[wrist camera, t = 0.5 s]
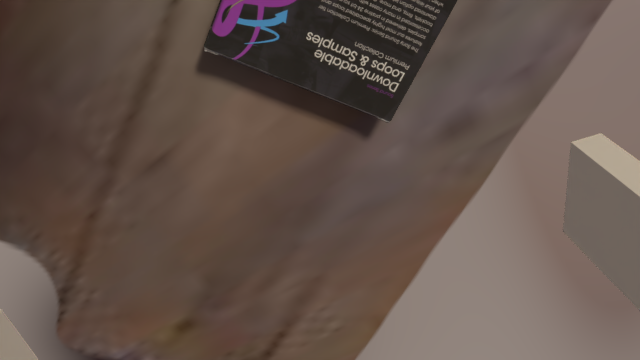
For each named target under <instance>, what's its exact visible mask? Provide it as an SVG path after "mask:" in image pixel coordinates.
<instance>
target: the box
mask: <svg viewBox="0 0 640 360" xmlns="http://www.w3.org/2000/svg"><path fill="white" fill-rule="evenodd" d="M456 2H457V0H220V3H219V6H218V9H217V11H216V14H215V17H214V20H213V22H212V25H211V28H210V30H209V33H208V36H207V39H206V42H205V44H204V49H205V52H210V53H212V54H214V55H220V56H223V57H225V58H227V59H230V60H233V61H235V62H237V63H240V64H242V65H245V66H248V67H250V68H253V69H255V70H258V71H260V72H262V73H265V74H267V75H270V76H273V77H275V78H278V79H280V80H283V81H285V82H288V83H291V84H293V85H296V86H298V87H301V88H303V89H306V90H308V91H311V92H313V93H316V94H319V95H321V96H324V97H326V98H329V99H331V100H334V101H337V102H339V103H342V104H344V105H347V106H349V107H352V108H354V109H357V110H359V111H362V112H364V113H367V114H369V115H372V116H374V117H376V118H378V119H380V120H382V121H385V122H388V123H390V121H391V120H392V118H393V116H394V114H395V112H396V110H397V108H398V107H399V105H400V103H401V101H402V100H403V98H404V96H405V94H406V92H407V91H408V89H409V87H410V85H411V83H412V82H413V80H414V78H415V76H416V74H417V72H418V71H419V69H420V67H421V65H422V63H423V62H424V60H425V58H426V56H427V54H428V53H429V51H430V49H431V47H432V45H433V43H434V42H435V40H436V38H437V36H438V35H439V33H440V31H441V29H442V27H443V26H444V24H445V22H446V20H447V18H448V17H449V15H450V13H451V11H452V9H453V7H454V6H455V4H456Z"/></svg>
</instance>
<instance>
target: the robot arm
mask: <svg viewBox="0 0 640 360" xmlns="http://www.w3.org/2000/svg"><path fill="white" fill-rule="evenodd" d="M564 214H565V215H564V224H563V232H564V233H565V234H566V235H567V236H568V237H569V238H570V239H571V240H572V241H573V242H574V243H575V244H576V245H577V247H579V249H580V250H581V251H582V252H583V253H584V254H585V255H586V256H587V257H588V258H589V259H590V260H591V261H592V262H593V263H594V264H595V265H596V266H597V267H598V268H599V269H600V270H601V271H602V272H603V273H604V274H605V275H606V277H607V278H608V279H609V280H610V281H611V282H612V283H613V284H614V285H615V286H616V287H617V288H618V289H619V290H620V291H621V292H622V293H623V294H624V295H625V296H626V297H627V298H628V299H629V300H630V301H631V302H632V303H633V304H634V305H635V306H636V307H637V309H638V310H639V311H640V161H639V160H637V159H636V158H635V157H633V156H632V155H630V154H629V153H628V152H626V151H625V150H623V149H622V148H621V147H619V146H618V145H616V144H615V143H613V142H612V141H611V140H609V139H608V138H607V137H605V136H604V135H602V134H601V133H600V134H597V135H593V136H590V137H587V138H583V139H580V140H576V141H573V142H571V147H570V158H569V170H568V180H567V191H566V202H565V213H564ZM0 360H39V359H38V358H37V357H36V355H35V354H34V353H33V352H32V350H31V348H30V347H29V346H28V345H27V343H26V342H25V340H24V339H23V338H22V336H21V335H20V333H19V332H18V331H17V329H16V328H15V327H14V325H13V324H12V323H11V321H10V320H9V318H8V317H7V316H6V314H5V313H4V312H3V310H2V309H0Z"/></svg>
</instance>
